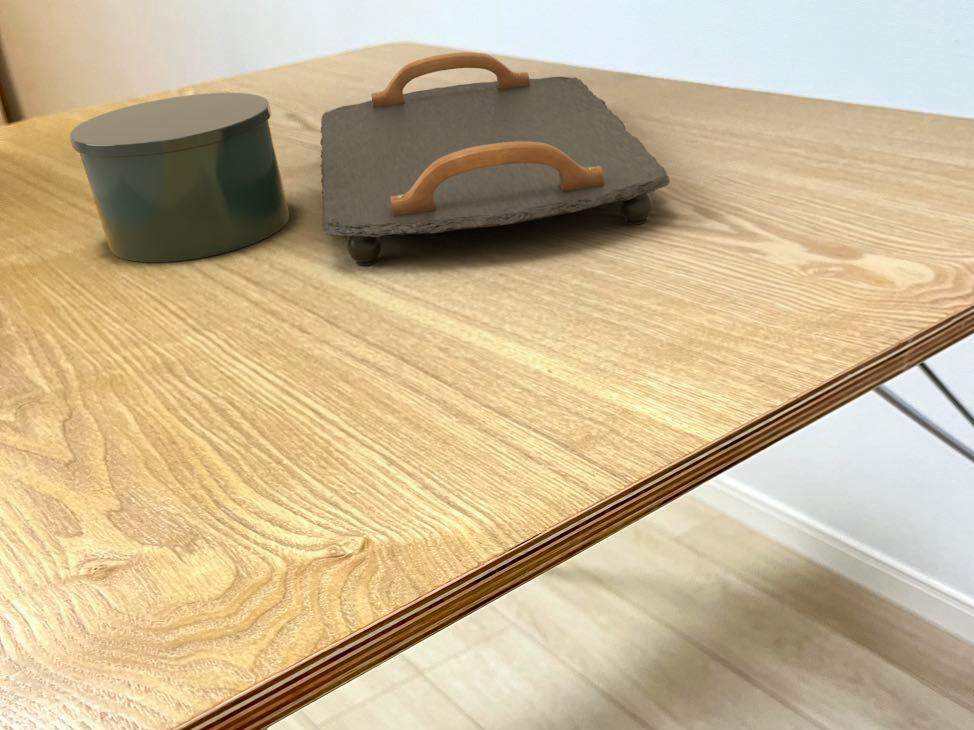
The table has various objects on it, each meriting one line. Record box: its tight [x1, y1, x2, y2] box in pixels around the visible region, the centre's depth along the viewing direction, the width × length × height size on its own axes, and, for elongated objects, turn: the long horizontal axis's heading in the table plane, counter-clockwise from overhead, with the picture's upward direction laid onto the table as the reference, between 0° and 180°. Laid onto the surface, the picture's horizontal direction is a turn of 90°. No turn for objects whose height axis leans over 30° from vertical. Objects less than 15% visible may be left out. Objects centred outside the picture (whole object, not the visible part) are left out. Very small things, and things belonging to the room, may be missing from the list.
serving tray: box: [319, 51, 670, 267], centre depth 86 cm, size 39×23×6 cm, turn 9°
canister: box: [69, 92, 290, 263], centre depth 81 cm, size 14×14×8 cm
